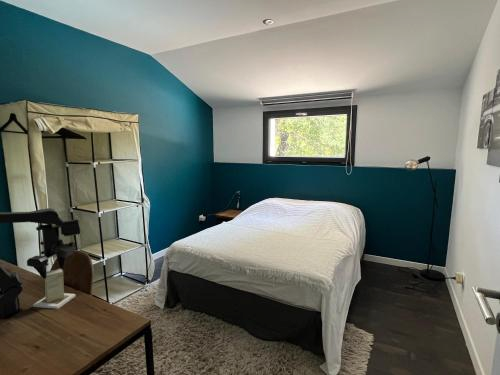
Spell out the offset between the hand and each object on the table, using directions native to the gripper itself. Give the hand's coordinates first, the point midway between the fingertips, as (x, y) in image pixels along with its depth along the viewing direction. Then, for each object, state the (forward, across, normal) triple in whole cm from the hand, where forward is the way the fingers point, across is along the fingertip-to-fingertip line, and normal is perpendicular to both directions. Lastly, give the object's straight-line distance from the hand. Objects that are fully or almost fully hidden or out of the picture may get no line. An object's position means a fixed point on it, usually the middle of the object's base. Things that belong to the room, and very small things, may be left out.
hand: (53, 273), depth 116 cm
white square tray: (+13, 0, 0) cm, 13 cm away
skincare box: (+12, 0, 0) cm, 12 cm away
